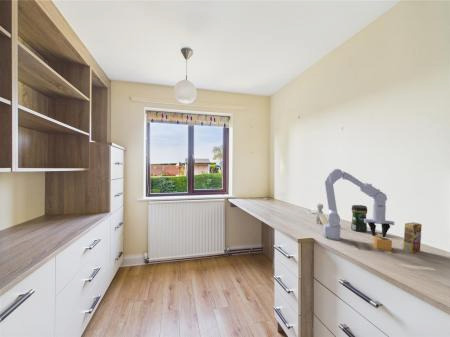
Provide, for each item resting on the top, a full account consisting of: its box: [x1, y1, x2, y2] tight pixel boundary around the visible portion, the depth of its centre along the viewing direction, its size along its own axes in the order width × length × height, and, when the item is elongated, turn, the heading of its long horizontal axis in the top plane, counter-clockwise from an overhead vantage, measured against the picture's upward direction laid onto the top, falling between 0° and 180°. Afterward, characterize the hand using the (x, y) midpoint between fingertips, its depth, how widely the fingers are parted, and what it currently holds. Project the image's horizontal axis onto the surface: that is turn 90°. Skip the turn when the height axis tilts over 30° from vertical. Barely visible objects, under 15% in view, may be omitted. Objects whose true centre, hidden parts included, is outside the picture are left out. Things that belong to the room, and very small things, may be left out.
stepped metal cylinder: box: [374, 231, 384, 238], centre depth 121 cm, size 3×3×7 cm
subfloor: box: [349, 240, 402, 256], centre depth 118 cm, size 20×19×1 cm
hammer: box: [315, 203, 329, 227], centre depth 159 cm, size 16×5×30 cm
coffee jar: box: [350, 204, 368, 232], centre depth 155 cm, size 10×8×19 cm
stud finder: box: [373, 236, 393, 250], centre depth 117 cm, size 7×4×5 cm, turn 76°
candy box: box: [402, 222, 423, 254], centre depth 117 cm, size 9×4×15 cm, turn 115°
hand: (378, 236), depth 121 cm, fingers open, 4 cm apart
